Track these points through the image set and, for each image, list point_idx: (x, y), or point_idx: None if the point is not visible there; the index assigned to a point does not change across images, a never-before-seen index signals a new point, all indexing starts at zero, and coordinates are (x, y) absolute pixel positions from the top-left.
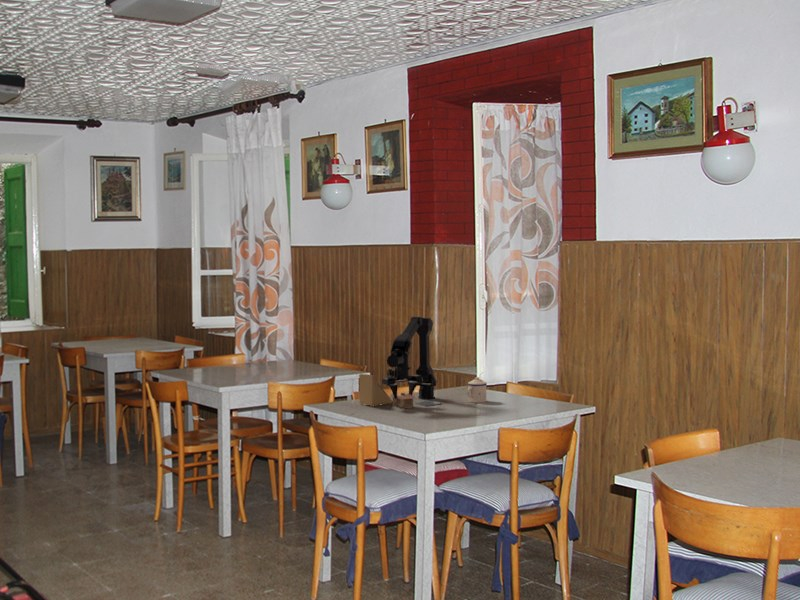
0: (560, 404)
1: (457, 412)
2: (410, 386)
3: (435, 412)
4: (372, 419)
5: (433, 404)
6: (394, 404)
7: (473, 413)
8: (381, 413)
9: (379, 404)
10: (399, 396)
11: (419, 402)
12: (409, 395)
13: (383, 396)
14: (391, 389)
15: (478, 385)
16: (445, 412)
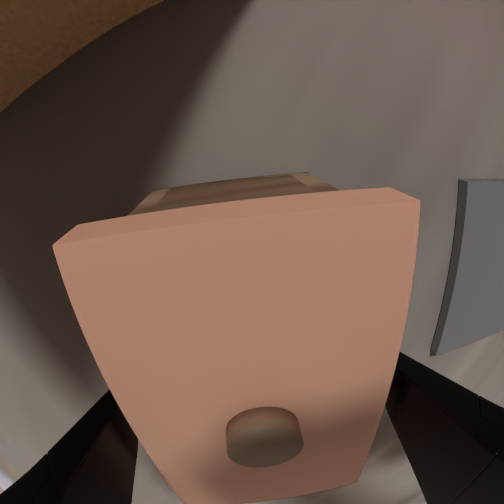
0: None
1: (401, 486)
2: (466, 493)
3: (331, 491)
4: (17, 477)
5: (489, 333)
6: None
7: (420, 491)
8: (30, 433)
9: (23, 87)
10: (166, 475)
11: (483, 213)
12: (314, 477)
13: (35, 11)
14: (22, 489)
15: None
16: (367, 490)
